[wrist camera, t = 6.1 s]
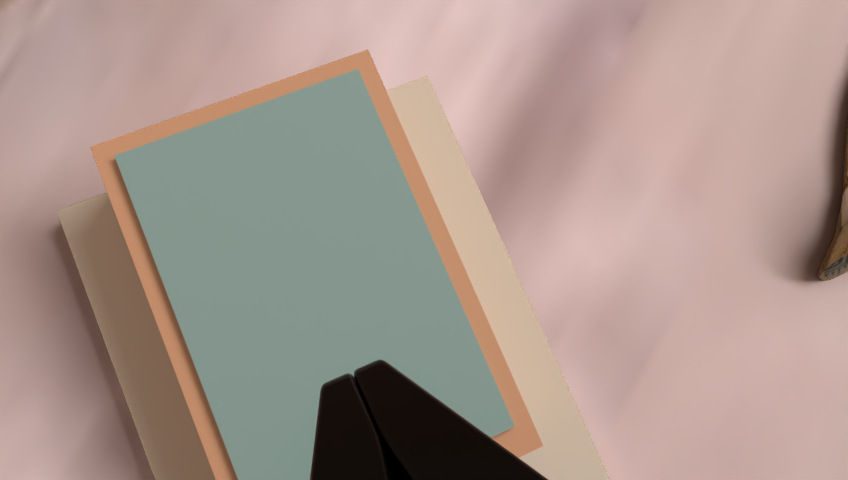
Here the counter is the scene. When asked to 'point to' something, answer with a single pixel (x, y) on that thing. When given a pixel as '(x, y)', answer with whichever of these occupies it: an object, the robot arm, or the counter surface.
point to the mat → (479, 252)
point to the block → (300, 266)
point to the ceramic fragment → (838, 234)
